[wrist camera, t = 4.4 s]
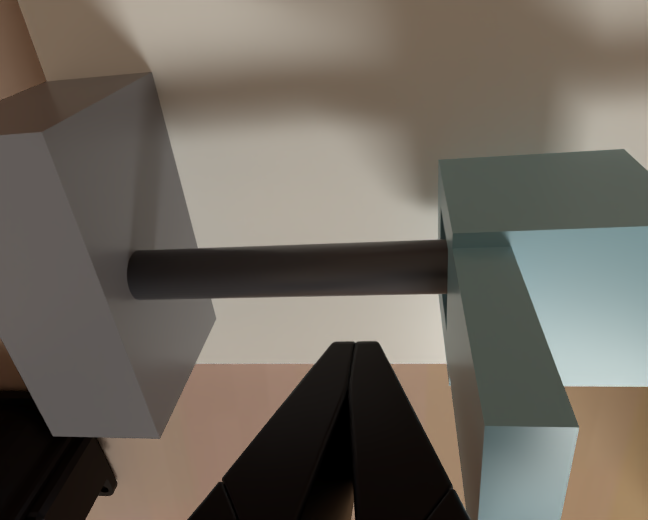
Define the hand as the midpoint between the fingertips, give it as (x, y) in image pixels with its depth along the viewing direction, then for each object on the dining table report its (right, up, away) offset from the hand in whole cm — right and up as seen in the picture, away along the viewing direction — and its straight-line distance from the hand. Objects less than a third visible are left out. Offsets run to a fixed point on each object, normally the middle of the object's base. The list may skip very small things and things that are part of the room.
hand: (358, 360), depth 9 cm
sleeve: (+4, +3, +4) cm, 6 cm away
